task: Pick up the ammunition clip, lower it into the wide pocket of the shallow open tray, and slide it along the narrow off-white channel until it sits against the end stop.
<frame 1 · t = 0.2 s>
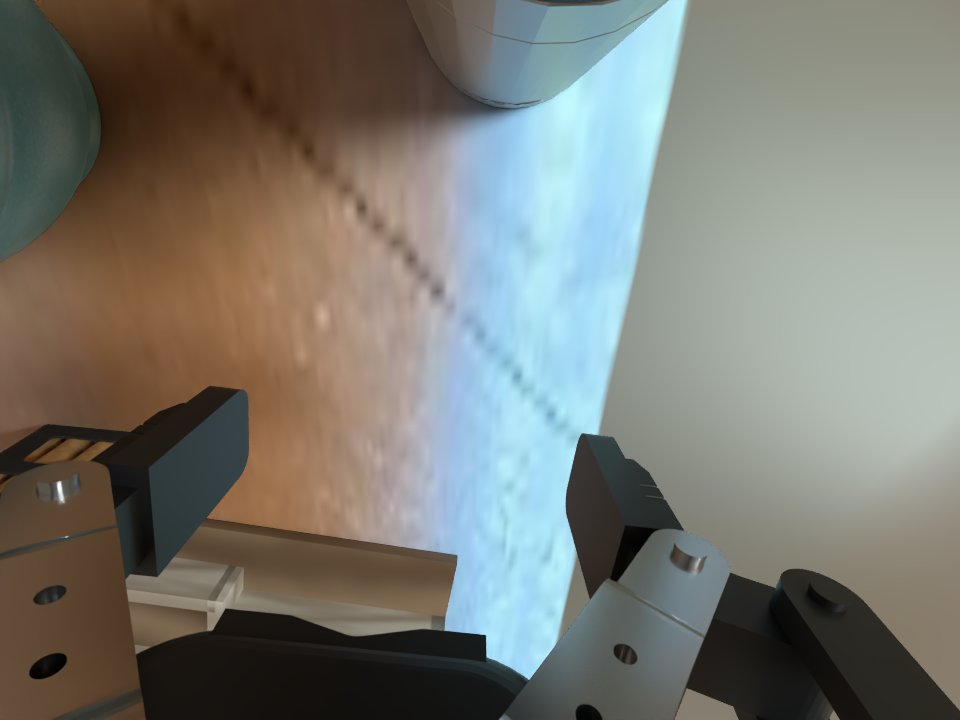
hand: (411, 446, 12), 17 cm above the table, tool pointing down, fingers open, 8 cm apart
flower pot: (10, 104, 25), on the table
shallow open tray: (240, 609, 37), on the table
ammunition clip: (135, 443, 32), on the table
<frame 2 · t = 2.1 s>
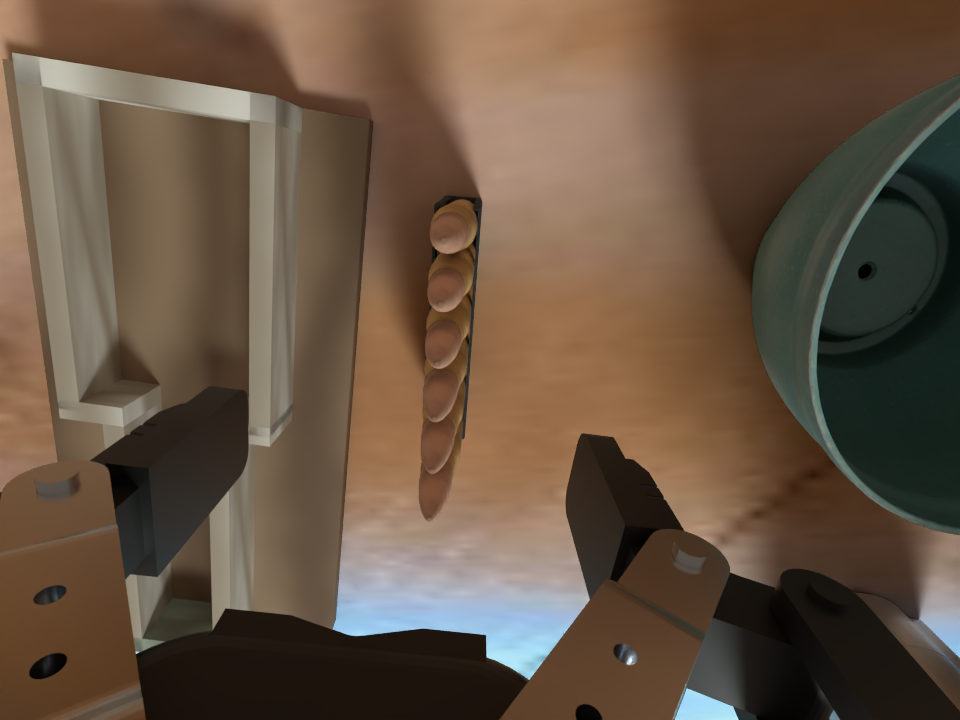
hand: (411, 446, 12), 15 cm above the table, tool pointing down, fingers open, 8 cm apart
flower pot: (840, 264, 25), on the table
shallow open tray: (206, 392, 28), on the table
ammunition clip: (456, 303, 26), on the table
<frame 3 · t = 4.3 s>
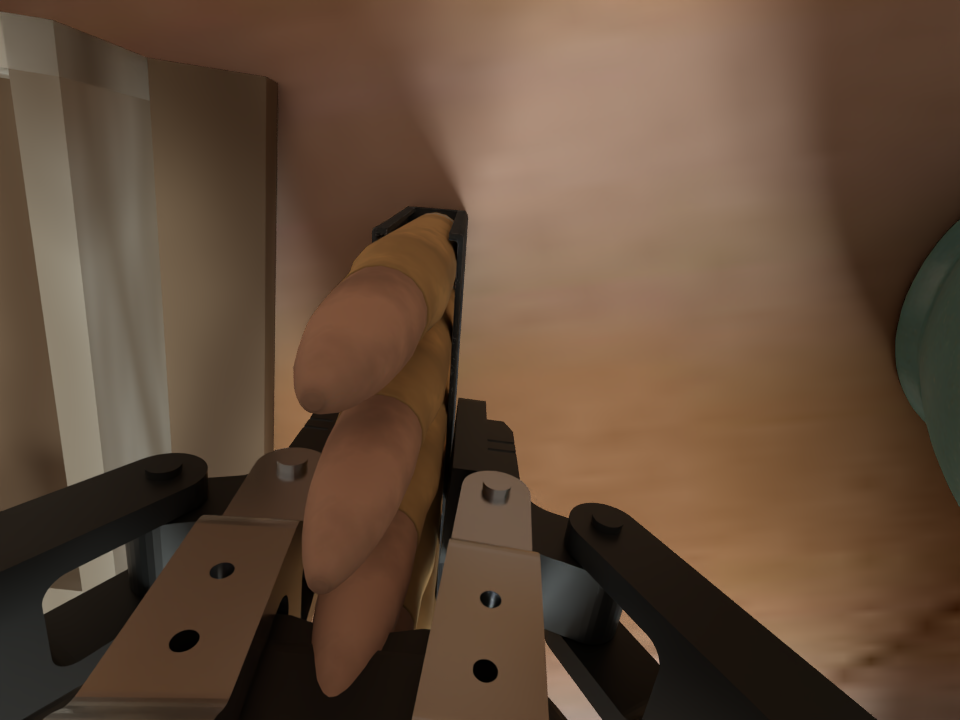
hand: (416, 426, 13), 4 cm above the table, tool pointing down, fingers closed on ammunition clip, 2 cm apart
shallow open tray: (48, 510, 18), on the table
ammunition clip: (429, 375, 17), on the table, touching gripper
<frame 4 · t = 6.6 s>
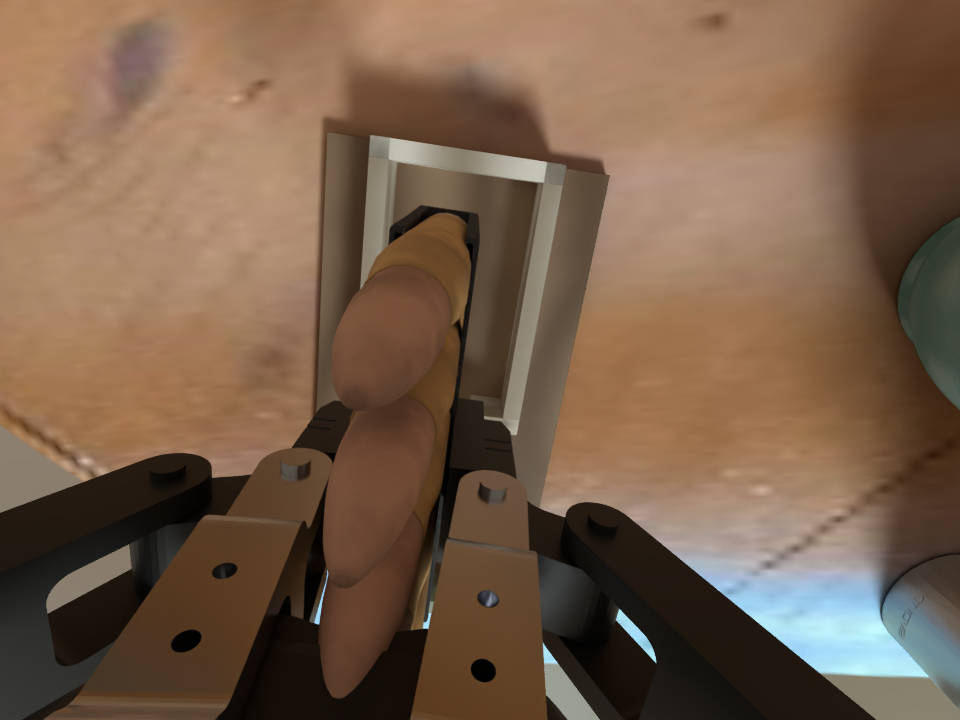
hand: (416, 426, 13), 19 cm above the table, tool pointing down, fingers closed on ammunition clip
shallow open tray: (440, 393, 34), on the table
ammunition clip: (430, 373, 17), point 15 cm above the table, touching gripper
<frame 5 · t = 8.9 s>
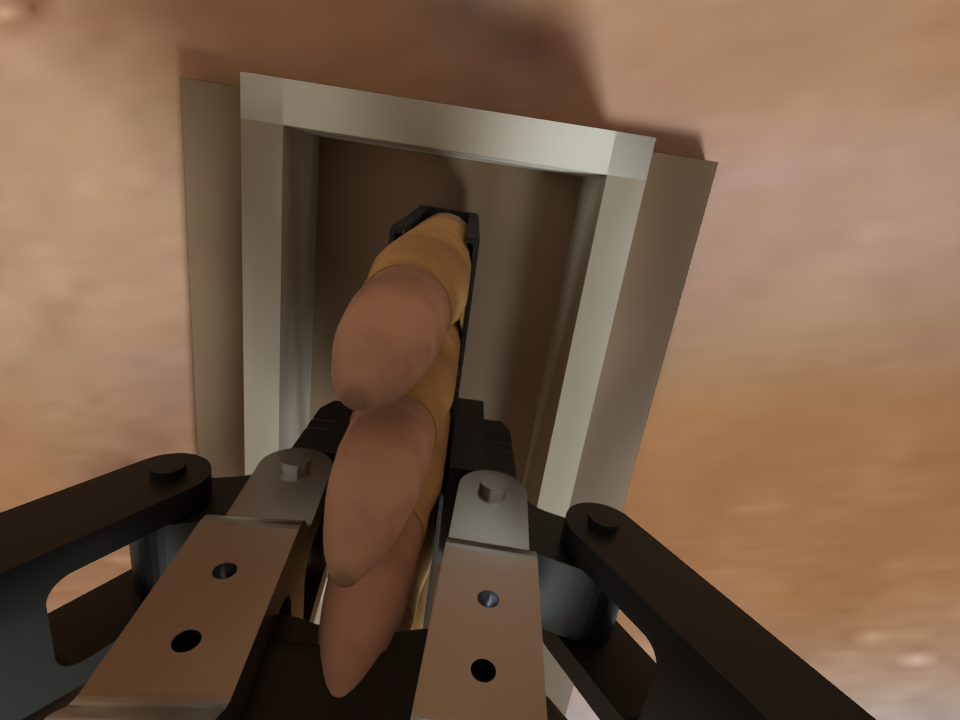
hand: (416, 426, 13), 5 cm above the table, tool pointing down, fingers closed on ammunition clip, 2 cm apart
shallow open tray: (411, 525, 20), on the table
ammunition clip: (430, 373, 17), point 1 cm above the table, touching gripper
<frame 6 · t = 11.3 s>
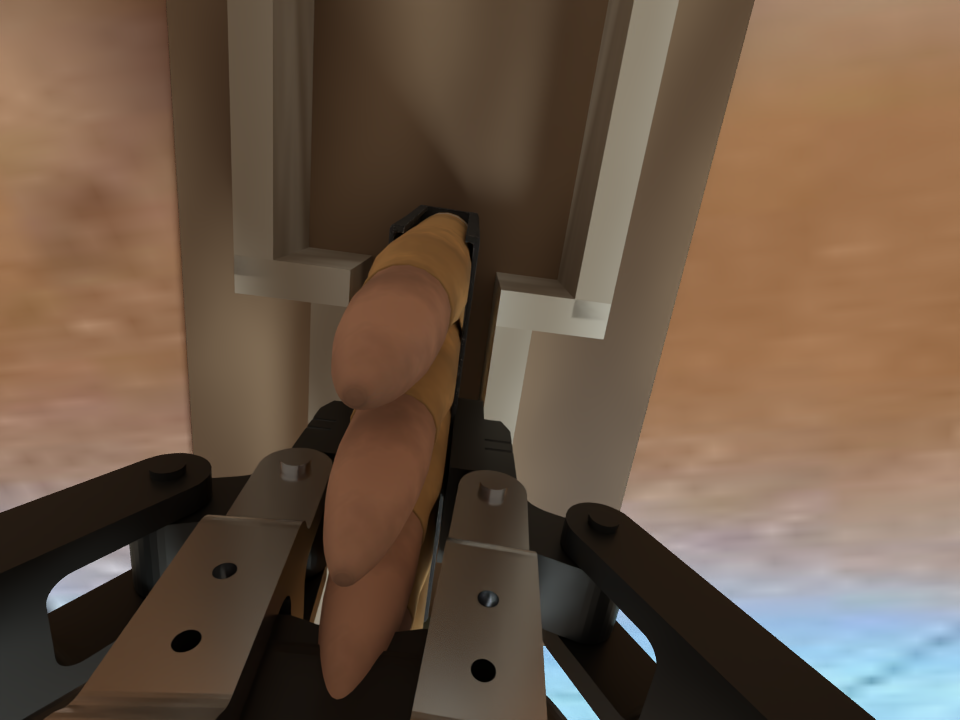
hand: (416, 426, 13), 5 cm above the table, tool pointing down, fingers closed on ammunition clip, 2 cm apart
shallow open tray: (435, 275, 17), on the table
ammunition clip: (430, 373, 17), point 1 cm above the table, touching gripper
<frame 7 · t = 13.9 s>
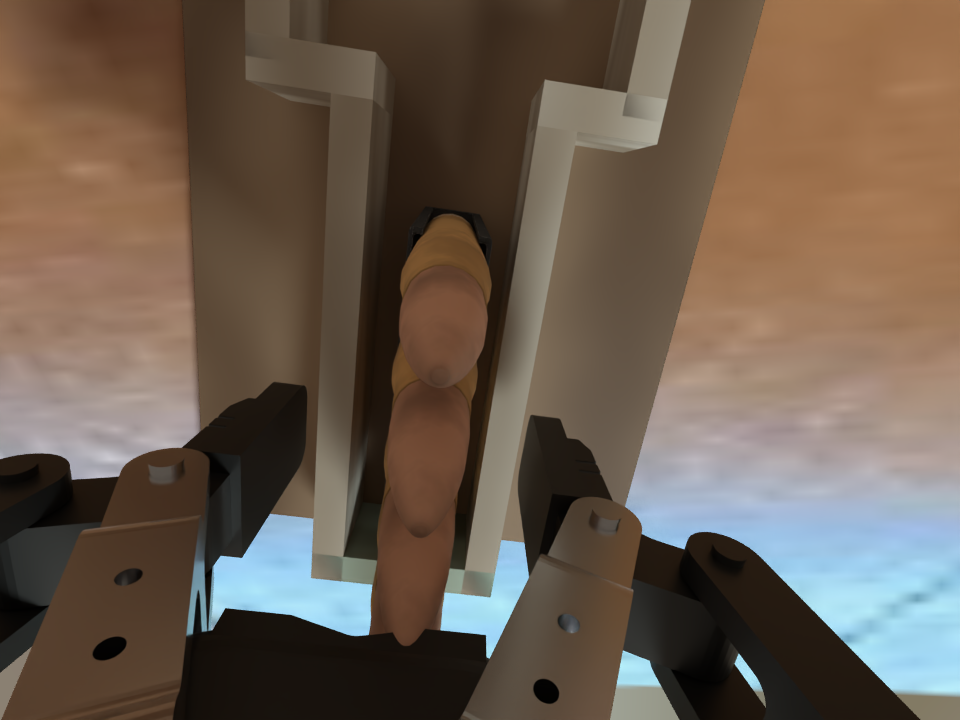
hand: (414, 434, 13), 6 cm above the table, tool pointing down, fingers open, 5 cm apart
shallow open tray: (462, 112, 15), on the table
ammunition clip: (433, 367, 18), point 1 cm above the table, touching shallow open tray
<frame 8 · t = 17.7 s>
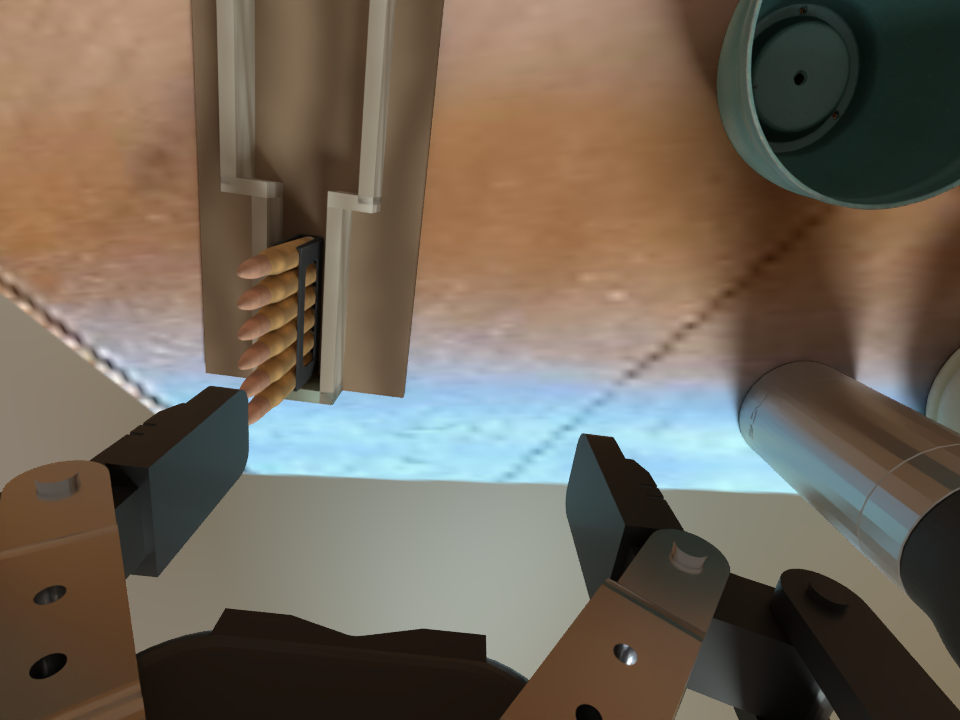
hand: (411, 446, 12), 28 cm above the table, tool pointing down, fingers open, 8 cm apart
flower pot: (784, 82, 35), on the table
shallow open tray: (314, 193, 37), on the table
ammunition clip: (309, 304, 39), point 1 cm above the table, touching shallow open tray
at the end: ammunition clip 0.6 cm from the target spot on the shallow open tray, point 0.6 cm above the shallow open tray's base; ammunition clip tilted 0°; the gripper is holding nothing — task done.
